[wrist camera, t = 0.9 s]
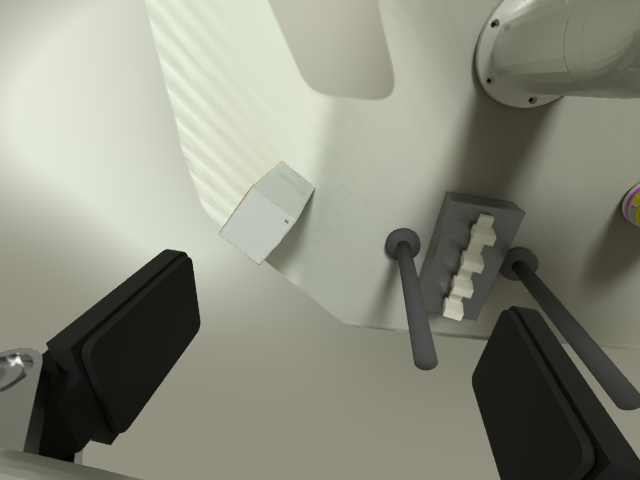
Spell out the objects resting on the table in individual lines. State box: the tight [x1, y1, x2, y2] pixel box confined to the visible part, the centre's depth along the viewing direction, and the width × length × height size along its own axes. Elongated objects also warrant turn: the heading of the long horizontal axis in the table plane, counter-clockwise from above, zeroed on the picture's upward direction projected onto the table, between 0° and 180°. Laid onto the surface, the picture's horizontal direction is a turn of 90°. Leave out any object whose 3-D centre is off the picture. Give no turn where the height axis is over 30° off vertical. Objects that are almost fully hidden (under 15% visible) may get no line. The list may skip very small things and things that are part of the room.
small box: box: [219, 161, 315, 265], centre depth 41 cm, size 8×6×13 cm
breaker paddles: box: [443, 213, 496, 321], centre depth 42 cm, size 16×2×4 cm, turn 173°
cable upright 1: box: [386, 228, 438, 370], centre depth 38 cm, size 5×5×23 cm
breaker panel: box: [418, 192, 525, 321], centre depth 45 cm, size 18×9×4 cm, turn 173°
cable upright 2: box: [499, 247, 640, 410], centre depth 36 cm, size 5×5×23 cm
